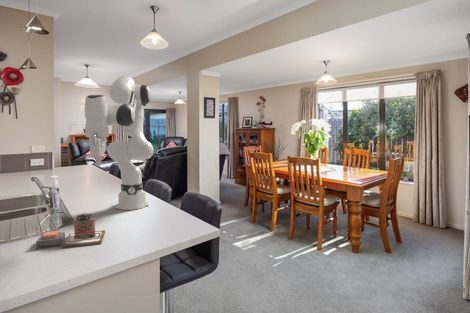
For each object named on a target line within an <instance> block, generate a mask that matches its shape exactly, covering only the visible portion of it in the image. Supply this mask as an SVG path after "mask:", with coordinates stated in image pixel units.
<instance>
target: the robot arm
mask: <svg viewBox="0 0 470 313" xmlns="http://www.w3.org/2000/svg"><path fill="white" fill-rule="evenodd" d="M108 90H109V91H108V92H109V93H108V94H109V97H110V99H111V100H112V101H113V102H114V103H112V104H111V103H107V99H106V96H105V95H104V94H103V95H102V94H89V95H87V96H86V97H85V100H84V117H85V126H84V127H85V137H86V138H88V140H89V156H90V157H91V158H94V159H95V165H96V166H97V167H98V166H101V165H102V158H103V156H102V155H103V154H105V153H106V151H107V154H108V157H109V158H111V159H112V161H115V163H116V165H117V166H118V167H119V170H120V177H121V184H120V190H121V191H120V192H119V193H118V196H117V197H118V203H117V204H116V205H115V206H114V207H115V209H118V210H123V211H124V210H125V211H133V210H134V211H135V210H140V209H143V208H146V207H149V206H150V203H149V202H148V201H147V199H146V192H145V190H143V187H144V186H143V181H142V179H143V178H142V176H143V175H142V170H141V169H140V167H139V166H137V165H135V164H133V161H134V160H135V161H143V160H148V159H151V158H152V157H153V154H154V147H153V146H154V145H153V144H152V143H151V142H150V141H148V139H147V138H146V137H145V134H144V121H145V109H144V107H146V105H147V104H149V103H150V101H151V99H152V90H151V88H150V87H149V86H148V85H146V84H136V82H135V80H134V79H133V78H132V77H131V76H129V75H121V76H120V77H117V79H115V80H114V81H113V82H112V84H111V85H110V87H109V89H108ZM109 126H114V127H115V126H118V127H119V126H121V127H122V130H123V132H124V134H125V135H127V136H129V137H131V140H116V141H113V142H110V143H109V145H108V146H107V138H109V137H110V136H109V135H110V134H109ZM106 147H107V150H106ZM132 160H133V161H132Z"/></svg>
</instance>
